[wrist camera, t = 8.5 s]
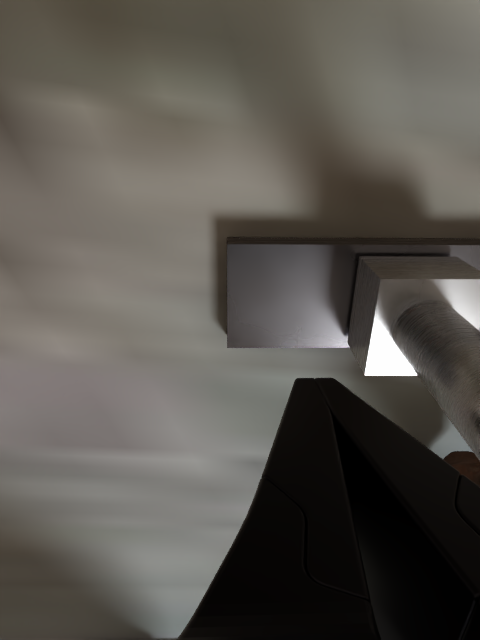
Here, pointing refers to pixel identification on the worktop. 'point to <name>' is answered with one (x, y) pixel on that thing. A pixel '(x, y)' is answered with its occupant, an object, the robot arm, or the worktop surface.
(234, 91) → the worktop surface
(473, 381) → the handle
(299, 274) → the ram track
